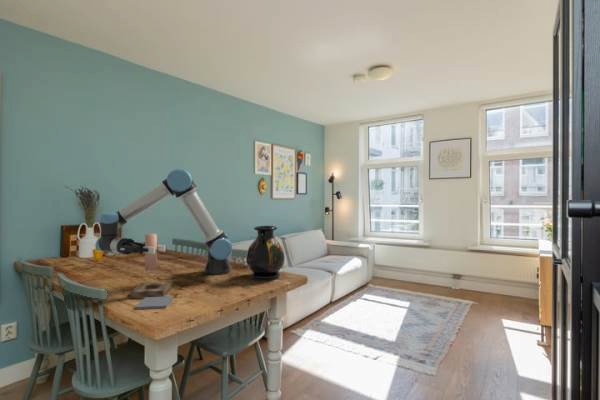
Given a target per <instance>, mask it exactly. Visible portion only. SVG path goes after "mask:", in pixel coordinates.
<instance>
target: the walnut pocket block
mask: <svg viewBox="0 0 600 400" xmlns="http://www.w3.org/2000/svg"><path fill="white" fill-rule="evenodd" d="M172 289H173V282H172V281H167V282H166V281H164V282H163V281H162V282H160V281H159V282H141V283H140V284H139V285H137V286H136V287H134V288H133V289H132V290H131V291H130V292H129V299H144V298H145V297H166V295H167V294H168V293H169V292H170V291H171V290H172Z"/></svg>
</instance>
